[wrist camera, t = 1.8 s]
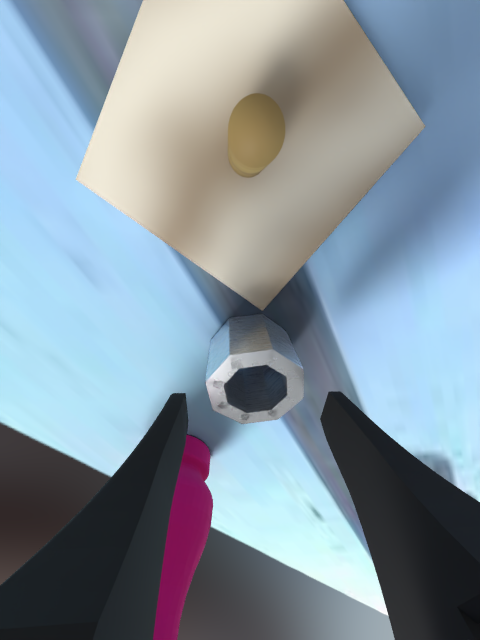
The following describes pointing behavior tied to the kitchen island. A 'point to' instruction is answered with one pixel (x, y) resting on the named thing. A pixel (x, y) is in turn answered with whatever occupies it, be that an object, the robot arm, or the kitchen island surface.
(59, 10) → the kitchen island surface
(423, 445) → the kitchen island surface
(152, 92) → the post block
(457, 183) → the kitchen island surface
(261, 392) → the collar
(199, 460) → the pepper mill
